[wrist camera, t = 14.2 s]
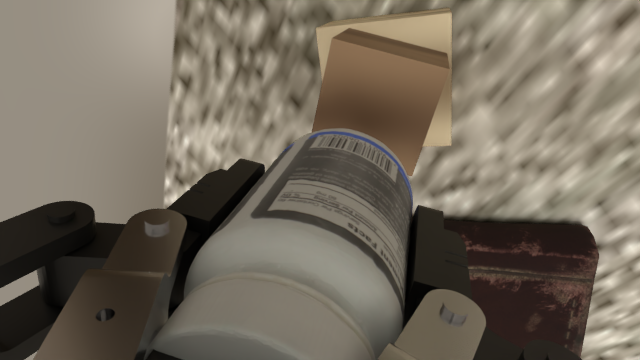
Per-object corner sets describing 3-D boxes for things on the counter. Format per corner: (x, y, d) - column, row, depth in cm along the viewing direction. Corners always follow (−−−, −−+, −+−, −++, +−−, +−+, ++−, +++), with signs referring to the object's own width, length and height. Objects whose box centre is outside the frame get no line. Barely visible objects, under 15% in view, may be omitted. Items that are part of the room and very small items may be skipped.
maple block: (332, 21, 30) (315, 28, 26) (448, 7, 28) (451, 12, 24) (343, 127, 33) (330, 149, 29) (448, 122, 31) (451, 145, 27)
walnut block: (349, 27, 25) (331, 38, 21) (447, 53, 25) (450, 69, 20) (328, 119, 28) (308, 145, 24) (415, 144, 28) (411, 176, 23)
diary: (276, 204, 39) (256, 231, 34) (580, 214, 33) (603, 249, 28) (298, 355, 46) (284, 394, 42) (549, 387, 40) (564, 437, 35)
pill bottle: (319, 267, 16) (218, 524, 8) (249, 161, 14) (57, 354, 7) (439, 223, 14) (447, 509, 6) (370, 97, 12) (280, 270, 5)
